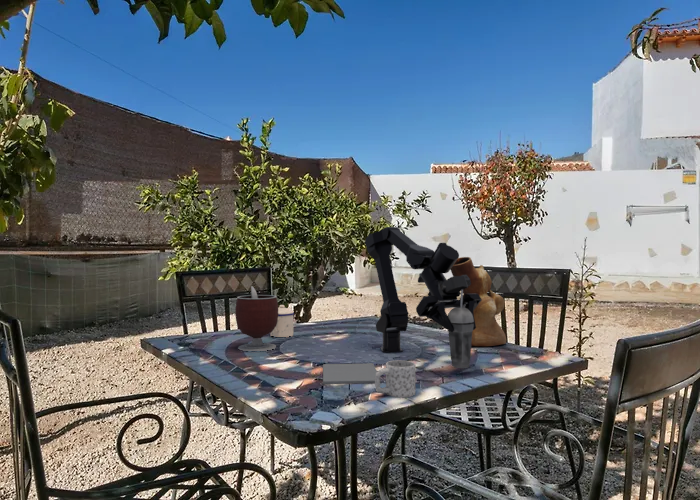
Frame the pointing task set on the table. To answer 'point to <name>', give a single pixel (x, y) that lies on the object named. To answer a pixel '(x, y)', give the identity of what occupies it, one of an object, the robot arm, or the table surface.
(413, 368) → the mug
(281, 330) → the teacup with lid
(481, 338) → the ceramic vessel
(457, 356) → the beverage cup
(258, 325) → the mate gourd
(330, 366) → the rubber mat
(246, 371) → the table surface
